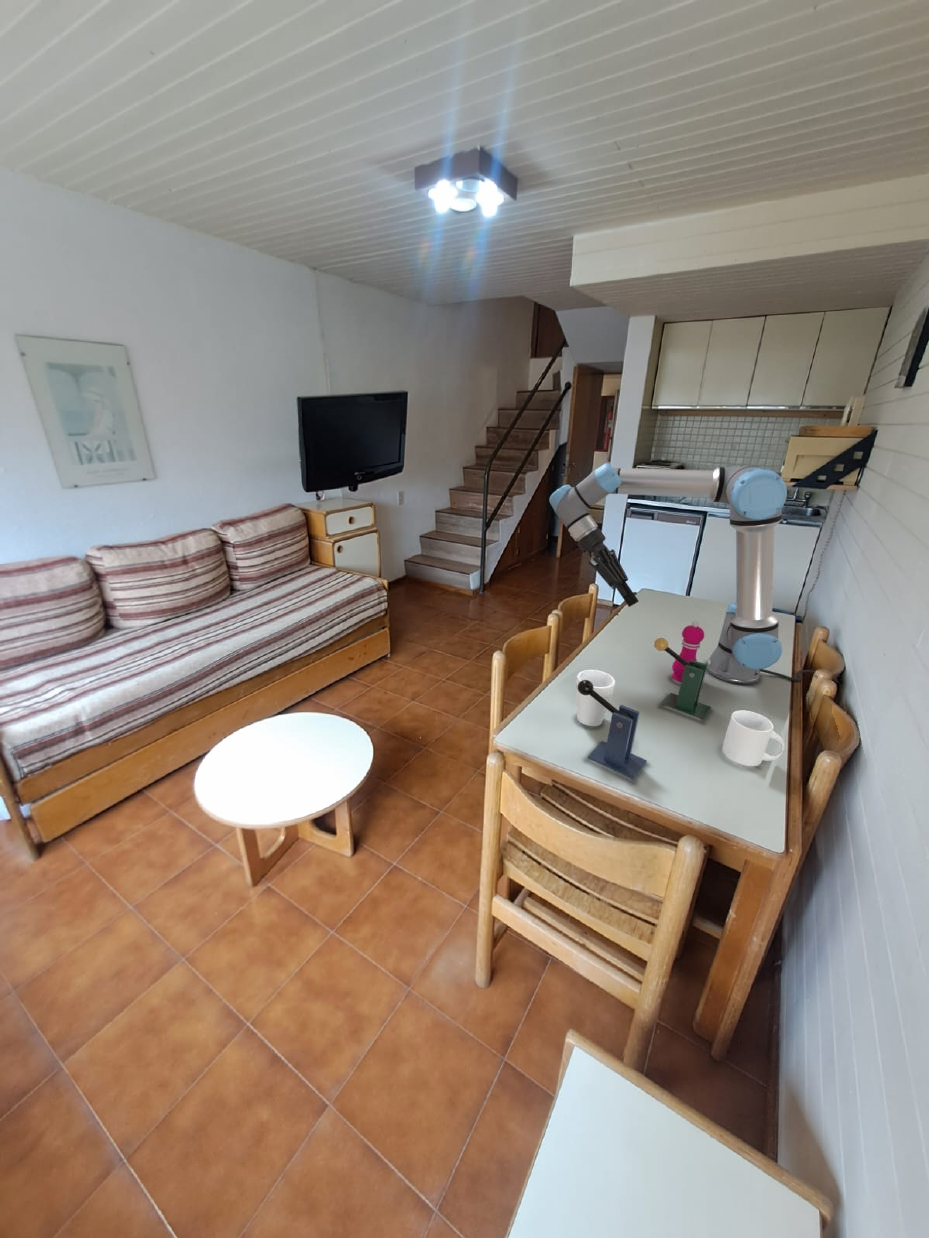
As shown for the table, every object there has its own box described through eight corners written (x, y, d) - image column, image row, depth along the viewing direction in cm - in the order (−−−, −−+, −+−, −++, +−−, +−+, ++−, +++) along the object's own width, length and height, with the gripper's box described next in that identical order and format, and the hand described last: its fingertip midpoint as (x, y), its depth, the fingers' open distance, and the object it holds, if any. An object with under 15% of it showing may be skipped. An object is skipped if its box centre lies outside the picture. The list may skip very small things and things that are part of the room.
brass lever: (649, 646, 137) (657, 637, 135) (654, 642, 139) (661, 633, 137) (693, 681, 132) (701, 672, 130) (697, 676, 134) (705, 667, 132)
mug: (777, 780, 111) (791, 741, 107) (719, 761, 116) (730, 723, 112) (776, 758, 118) (790, 721, 114) (721, 742, 123) (732, 706, 119)
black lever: (572, 690, 115) (579, 680, 113) (579, 684, 117) (586, 674, 115) (622, 732, 109) (631, 722, 107) (628, 725, 112) (637, 715, 110)
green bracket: (660, 707, 137) (670, 663, 132) (670, 696, 143) (680, 653, 138) (702, 722, 131) (714, 677, 126) (710, 710, 137) (722, 666, 131)
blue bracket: (587, 760, 115) (595, 710, 110) (601, 744, 121) (610, 696, 116) (632, 782, 109) (643, 730, 103) (645, 764, 115) (656, 714, 109)
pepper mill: (690, 676, 155) (704, 617, 147) (698, 688, 148) (713, 627, 140) (666, 674, 155) (679, 616, 147) (673, 686, 148) (687, 625, 141)
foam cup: (579, 733, 125) (586, 689, 120) (565, 713, 133) (571, 671, 128) (614, 730, 127) (622, 686, 122) (597, 710, 135) (604, 668, 130)
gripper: (587, 538, 148) (632, 604, 145) (567, 546, 139) (614, 616, 136) (607, 524, 143) (653, 591, 140) (586, 531, 134) (636, 603, 131)
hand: (633, 604), depth 138 cm, fingers closed
